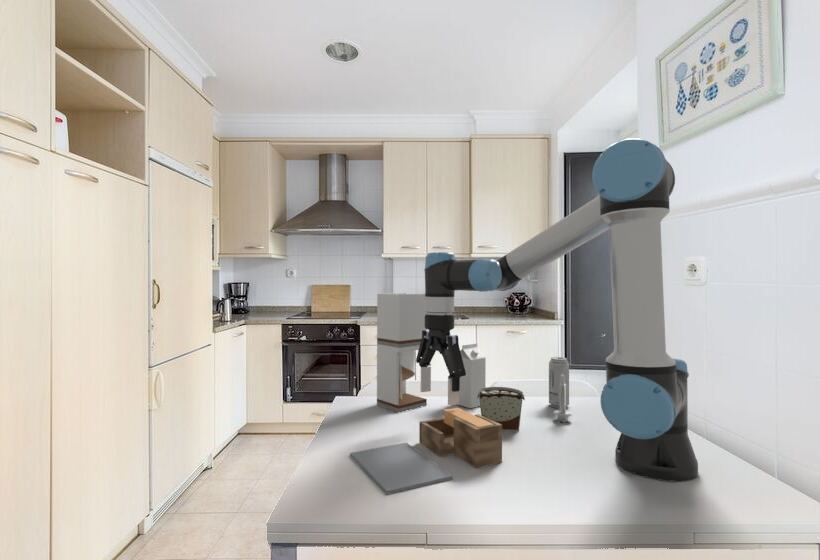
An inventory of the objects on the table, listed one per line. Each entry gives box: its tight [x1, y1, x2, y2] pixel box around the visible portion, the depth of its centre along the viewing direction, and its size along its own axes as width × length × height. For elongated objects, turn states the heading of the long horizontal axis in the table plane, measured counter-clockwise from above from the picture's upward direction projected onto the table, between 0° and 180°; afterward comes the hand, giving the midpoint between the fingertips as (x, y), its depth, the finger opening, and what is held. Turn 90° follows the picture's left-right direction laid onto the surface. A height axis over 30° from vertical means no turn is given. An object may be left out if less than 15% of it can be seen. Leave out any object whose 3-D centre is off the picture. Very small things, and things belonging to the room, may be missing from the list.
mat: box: [349, 442, 453, 495], centre depth 91 cm, size 20×14×1 cm
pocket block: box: [418, 413, 503, 469], centre depth 100 cm, size 18×14×8 cm
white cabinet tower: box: [376, 292, 428, 413], centre depth 137 cm, size 11×11×35 cm
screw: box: [553, 374, 573, 423], centre depth 122 cm, size 13×5×5 cm
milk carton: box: [456, 343, 487, 409], centre depth 138 cm, size 7×7×19 cm
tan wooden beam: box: [443, 407, 494, 428], centre depth 99 cm, size 14×4×3 cm, turn 27°
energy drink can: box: [548, 356, 570, 409], centre depth 136 cm, size 6×6×15 cm
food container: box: [477, 386, 526, 432], centre depth 117 cm, size 12×6×10 cm, turn 84°
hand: (438, 397), depth 110 cm, fingers open, 13 cm apart
